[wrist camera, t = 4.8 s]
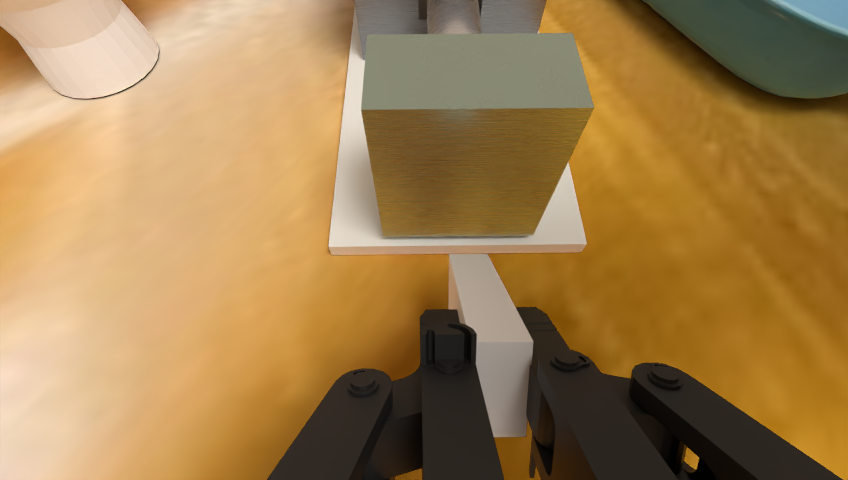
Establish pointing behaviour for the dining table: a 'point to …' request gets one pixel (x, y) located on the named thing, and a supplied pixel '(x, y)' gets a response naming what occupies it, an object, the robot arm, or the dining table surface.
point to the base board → (363, 236)
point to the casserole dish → (770, 41)
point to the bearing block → (407, 14)
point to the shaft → (469, 124)
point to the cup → (82, 43)
